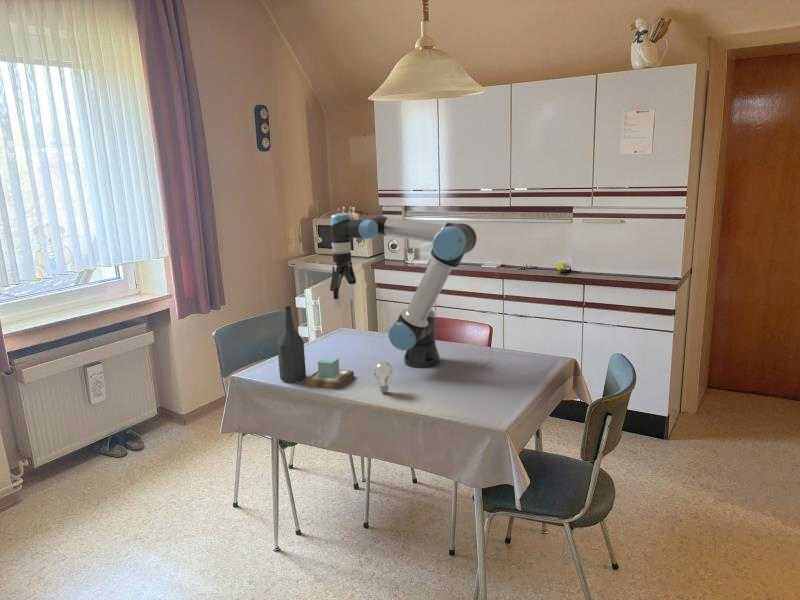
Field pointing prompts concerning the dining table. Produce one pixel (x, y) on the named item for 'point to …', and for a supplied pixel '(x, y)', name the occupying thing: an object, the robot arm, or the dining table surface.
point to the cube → (328, 367)
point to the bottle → (291, 352)
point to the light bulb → (383, 375)
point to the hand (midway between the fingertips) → (344, 302)
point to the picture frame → (330, 380)
